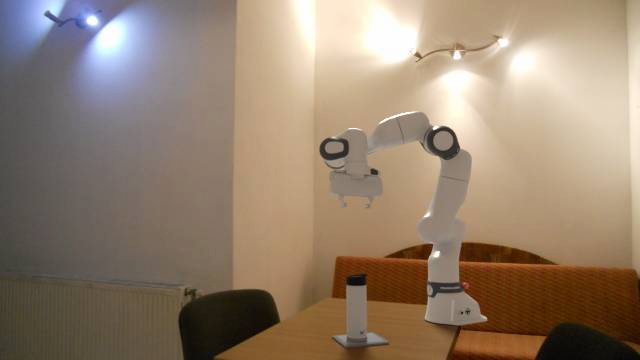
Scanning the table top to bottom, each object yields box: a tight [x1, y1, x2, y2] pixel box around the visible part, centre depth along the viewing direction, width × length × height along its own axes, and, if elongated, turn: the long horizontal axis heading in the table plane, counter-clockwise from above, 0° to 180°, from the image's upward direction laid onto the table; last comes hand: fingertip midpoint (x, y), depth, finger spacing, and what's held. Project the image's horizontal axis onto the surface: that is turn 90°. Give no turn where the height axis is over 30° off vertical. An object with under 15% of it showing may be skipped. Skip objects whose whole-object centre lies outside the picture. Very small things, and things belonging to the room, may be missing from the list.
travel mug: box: [345, 273, 368, 342], centre depth 141 cm, size 6×7×20 cm
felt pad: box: [331, 331, 390, 349], centre depth 141 cm, size 14×12×1 cm
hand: (356, 208), depth 168 cm, fingers open, 8 cm apart
